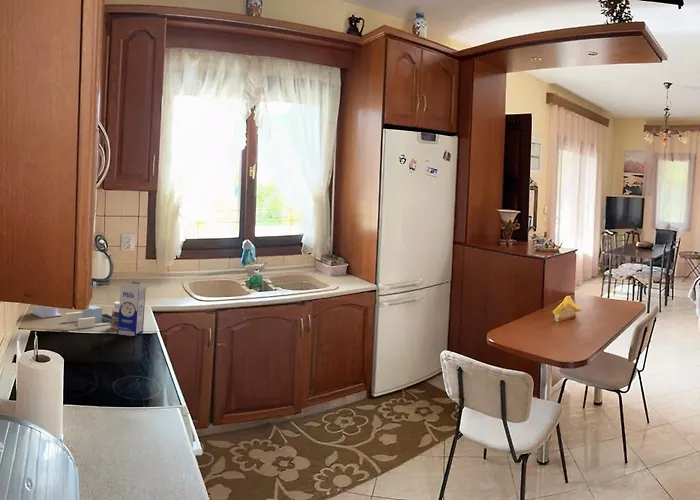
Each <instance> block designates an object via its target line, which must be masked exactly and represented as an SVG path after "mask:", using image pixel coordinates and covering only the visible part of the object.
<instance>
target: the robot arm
mask: <svg viewBox="0 0 700 500" xmlns="http://www.w3.org/2000/svg"><path fill="white" fill-rule="evenodd" d="M92 282H93V287H92V288H97V282H96V281H92ZM58 311H59V308H58V309H55V308H45V307H37V306H34V307H33V311H31V314H33V315H35V316H37V317H39V318H41V319H42V318H51V317H61V316H63V315H62V313H60V312H58Z"/></svg>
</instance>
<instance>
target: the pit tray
mask: <svg viewBox="0 0 700 500" xmlns="http://www.w3.org/2000/svg"><path fill="white" fill-rule="evenodd" d="M102 322H103V323H111V322H112V314H111V315H110V314H108V313H102Z"/></svg>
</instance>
